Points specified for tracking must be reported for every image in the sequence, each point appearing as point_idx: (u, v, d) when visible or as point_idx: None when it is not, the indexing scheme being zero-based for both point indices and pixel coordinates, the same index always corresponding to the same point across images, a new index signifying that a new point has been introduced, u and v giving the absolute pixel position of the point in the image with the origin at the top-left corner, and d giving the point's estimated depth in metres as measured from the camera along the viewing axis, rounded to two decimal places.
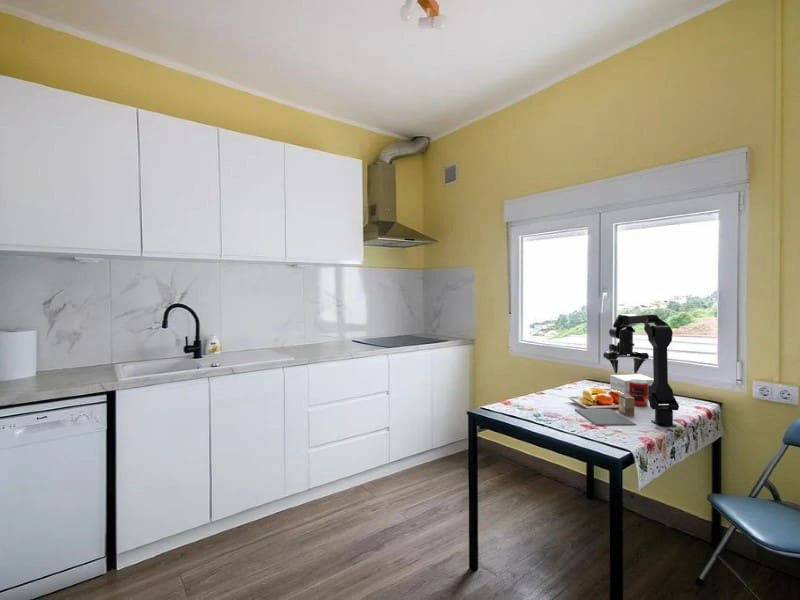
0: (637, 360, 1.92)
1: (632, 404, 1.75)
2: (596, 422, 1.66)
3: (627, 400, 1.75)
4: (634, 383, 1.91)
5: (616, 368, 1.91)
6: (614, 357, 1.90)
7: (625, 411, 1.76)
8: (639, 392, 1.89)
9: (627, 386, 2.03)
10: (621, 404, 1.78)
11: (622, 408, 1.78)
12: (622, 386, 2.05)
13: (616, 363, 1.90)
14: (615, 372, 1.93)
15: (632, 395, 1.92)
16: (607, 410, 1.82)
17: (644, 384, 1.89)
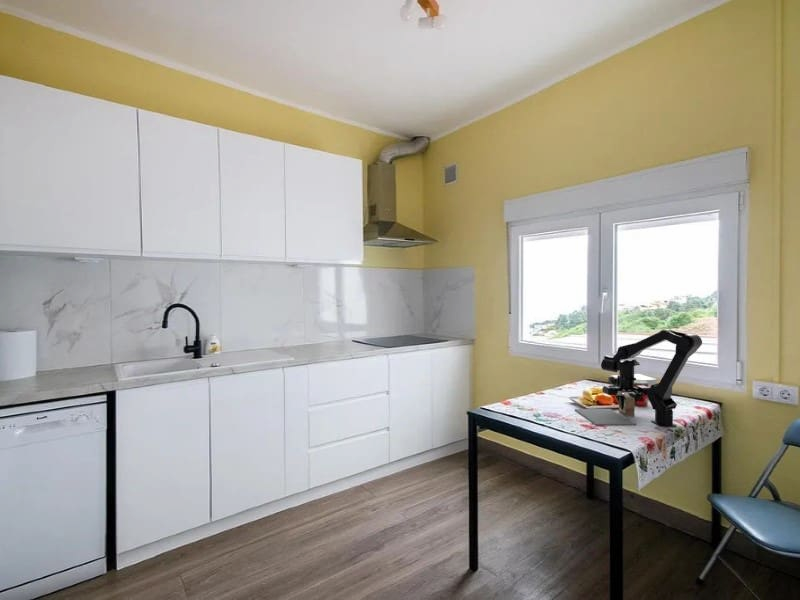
0: (633, 395, 1.77)
1: (632, 404, 1.75)
2: (596, 422, 1.66)
3: (627, 400, 1.75)
4: (634, 383, 1.91)
5: (622, 404, 1.76)
6: (614, 393, 1.75)
7: (625, 411, 1.76)
8: None
9: None
10: None
11: None
12: None
13: (622, 399, 1.75)
14: (621, 408, 1.78)
15: None
16: (607, 410, 1.82)
17: (644, 384, 1.89)
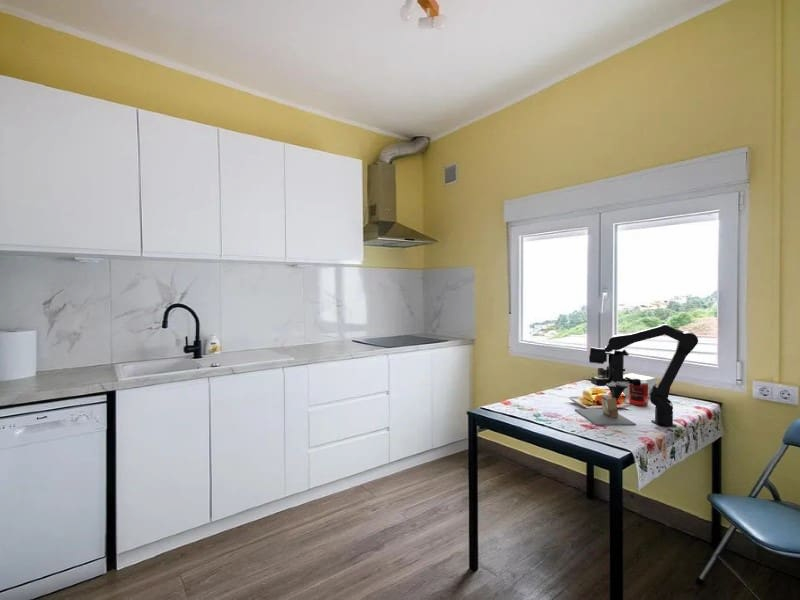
0: (618, 387, 1.73)
1: (614, 405, 1.71)
2: (596, 422, 1.66)
3: (609, 401, 1.71)
4: None
5: (615, 396, 1.72)
6: (602, 384, 1.71)
7: (609, 413, 1.72)
8: (639, 392, 1.89)
9: None
10: (604, 406, 1.74)
11: (605, 410, 1.74)
12: None
13: (615, 390, 1.71)
14: None
15: (632, 395, 1.92)
16: None
17: (644, 384, 1.89)
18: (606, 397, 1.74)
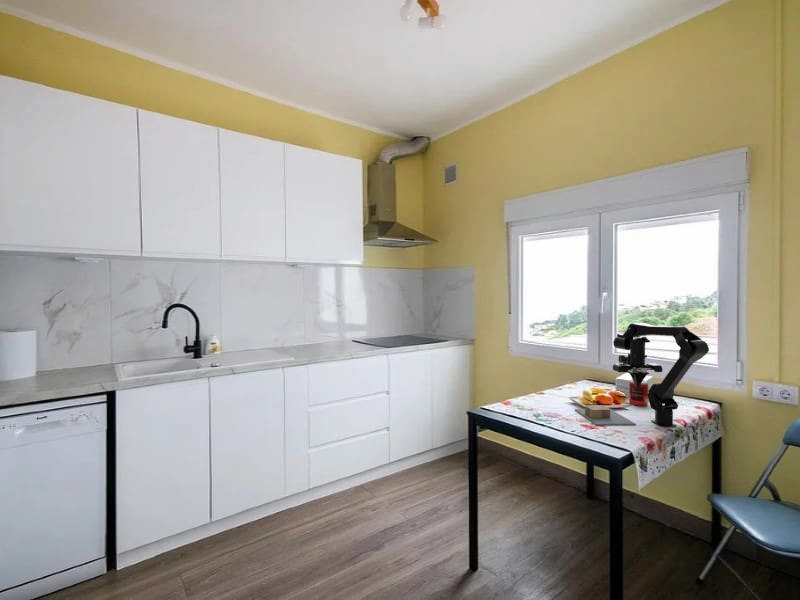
0: (639, 373, 1.76)
1: (598, 411, 1.71)
2: (596, 422, 1.66)
3: (593, 416, 1.71)
4: None
5: (637, 382, 1.75)
6: (625, 370, 1.73)
7: None
8: (639, 392, 1.89)
9: None
10: None
11: None
12: None
13: (637, 376, 1.74)
14: (636, 386, 1.76)
15: (632, 395, 1.92)
16: None
17: (644, 384, 1.89)
18: (588, 413, 1.74)
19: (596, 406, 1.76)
